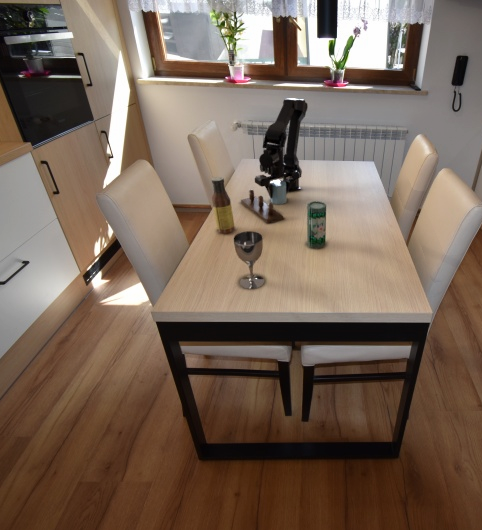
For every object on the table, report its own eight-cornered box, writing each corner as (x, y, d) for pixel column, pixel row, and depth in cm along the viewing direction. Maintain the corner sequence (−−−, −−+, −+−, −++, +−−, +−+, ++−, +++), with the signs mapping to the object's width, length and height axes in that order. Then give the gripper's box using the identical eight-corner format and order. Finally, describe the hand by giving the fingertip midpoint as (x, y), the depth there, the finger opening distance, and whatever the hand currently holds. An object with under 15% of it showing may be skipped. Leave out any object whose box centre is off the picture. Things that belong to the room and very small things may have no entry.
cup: (281, 196, 171) (280, 179, 167) (289, 201, 167) (289, 184, 162) (267, 199, 168) (266, 182, 163) (276, 205, 163) (275, 187, 159)
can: (312, 250, 133) (312, 210, 125) (305, 242, 138) (304, 203, 129) (327, 246, 136) (329, 207, 127) (320, 238, 140) (321, 200, 132)
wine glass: (240, 274, 119) (235, 231, 111) (266, 274, 120) (263, 231, 112) (237, 289, 113) (231, 245, 104) (264, 289, 113) (261, 244, 105)
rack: (256, 199, 168) (254, 185, 164) (283, 219, 152) (282, 203, 149) (241, 203, 164) (239, 188, 160) (267, 223, 149) (266, 208, 145)
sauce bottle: (238, 228, 144) (232, 177, 134) (227, 235, 139) (220, 183, 129) (224, 225, 146) (217, 174, 136) (213, 231, 142) (205, 179, 131)
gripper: (286, 152, 168) (287, 186, 176) (247, 159, 158) (250, 194, 167) (300, 159, 160) (300, 194, 169) (259, 166, 151) (262, 203, 159)
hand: (278, 196), depth 166 cm, fingers closed on cup, 7 cm apart
